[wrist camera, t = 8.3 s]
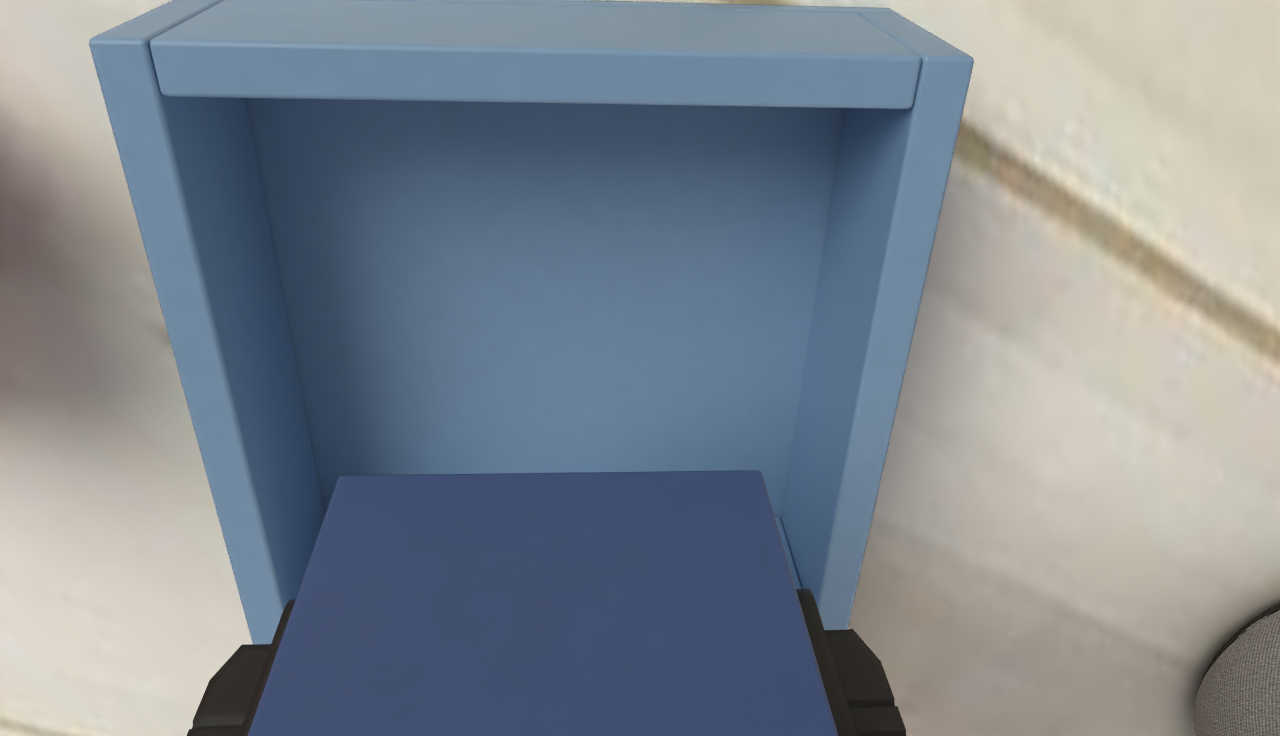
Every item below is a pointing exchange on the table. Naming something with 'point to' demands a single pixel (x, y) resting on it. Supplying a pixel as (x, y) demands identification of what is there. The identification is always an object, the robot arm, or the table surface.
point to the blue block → (547, 611)
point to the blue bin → (535, 248)
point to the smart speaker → (1243, 683)
